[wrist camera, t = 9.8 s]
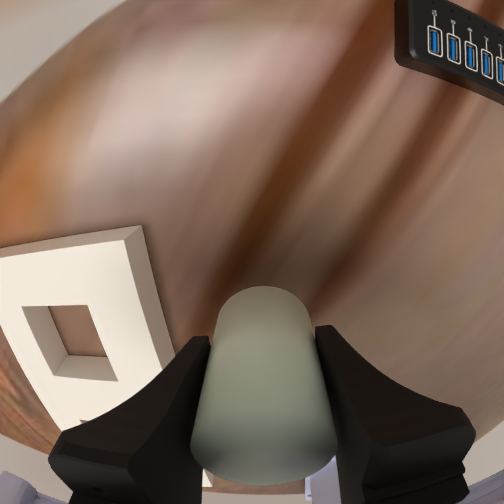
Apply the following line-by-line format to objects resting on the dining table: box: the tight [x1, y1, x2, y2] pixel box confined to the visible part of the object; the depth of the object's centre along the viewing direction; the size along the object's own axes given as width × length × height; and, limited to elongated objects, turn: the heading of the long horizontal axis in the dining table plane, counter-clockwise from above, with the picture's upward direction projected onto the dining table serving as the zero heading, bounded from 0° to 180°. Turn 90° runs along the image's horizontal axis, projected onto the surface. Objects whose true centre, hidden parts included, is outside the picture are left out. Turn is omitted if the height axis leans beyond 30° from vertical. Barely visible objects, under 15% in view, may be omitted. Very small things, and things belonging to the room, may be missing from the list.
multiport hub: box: [394, 0, 504, 105], centre depth 12 cm, size 4×14×2 cm, turn 85°
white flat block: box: [0, 225, 214, 487], centre depth 19 cm, size 22×12×2 cm, turn 7°
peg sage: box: [190, 286, 338, 485], centre depth 10 cm, size 4×4×6 cm
